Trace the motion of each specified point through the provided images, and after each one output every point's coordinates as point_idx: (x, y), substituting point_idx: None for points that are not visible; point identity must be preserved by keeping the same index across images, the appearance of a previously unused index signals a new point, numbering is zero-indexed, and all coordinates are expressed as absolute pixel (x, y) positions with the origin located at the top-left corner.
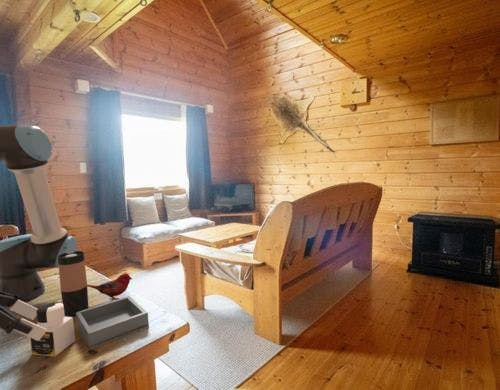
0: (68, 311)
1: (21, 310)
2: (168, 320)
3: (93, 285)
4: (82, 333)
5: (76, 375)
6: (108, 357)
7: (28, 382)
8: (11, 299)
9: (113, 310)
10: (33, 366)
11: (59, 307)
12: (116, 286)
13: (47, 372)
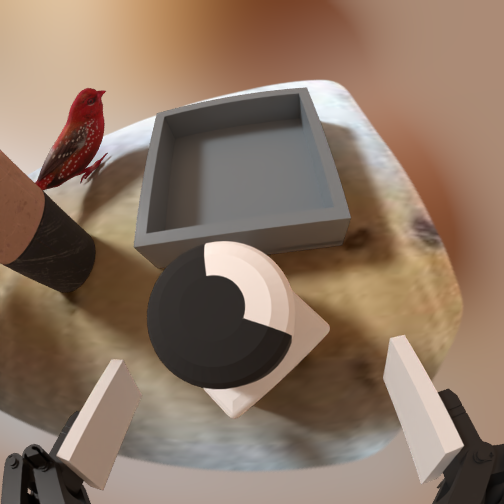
0: (72, 276)
1: (109, 441)
2: None
3: None
4: None
5: (444, 285)
6: (405, 210)
7: None
8: (66, 495)
9: (168, 163)
10: (333, 399)
11: (266, 258)
12: (84, 135)
13: None
